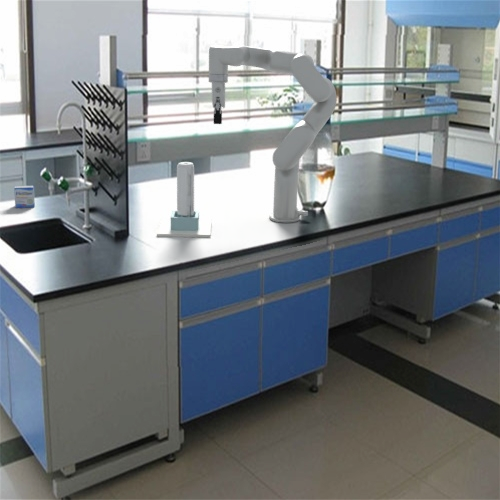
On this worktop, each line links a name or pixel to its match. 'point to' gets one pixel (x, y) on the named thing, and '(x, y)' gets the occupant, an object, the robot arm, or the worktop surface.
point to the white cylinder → (185, 189)
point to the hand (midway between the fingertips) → (217, 122)
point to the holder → (184, 226)
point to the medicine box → (24, 196)
